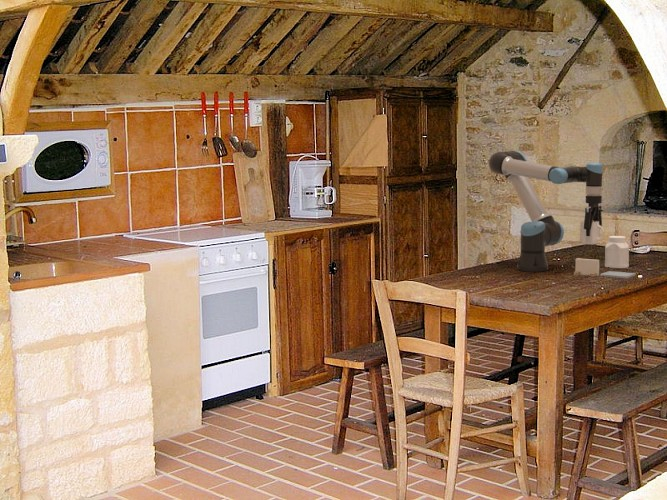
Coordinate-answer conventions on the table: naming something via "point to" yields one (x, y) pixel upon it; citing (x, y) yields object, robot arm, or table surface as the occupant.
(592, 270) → the beige block
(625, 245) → the jar
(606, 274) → the plate
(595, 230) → the mug
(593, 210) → the robot arm
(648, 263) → the table surface
